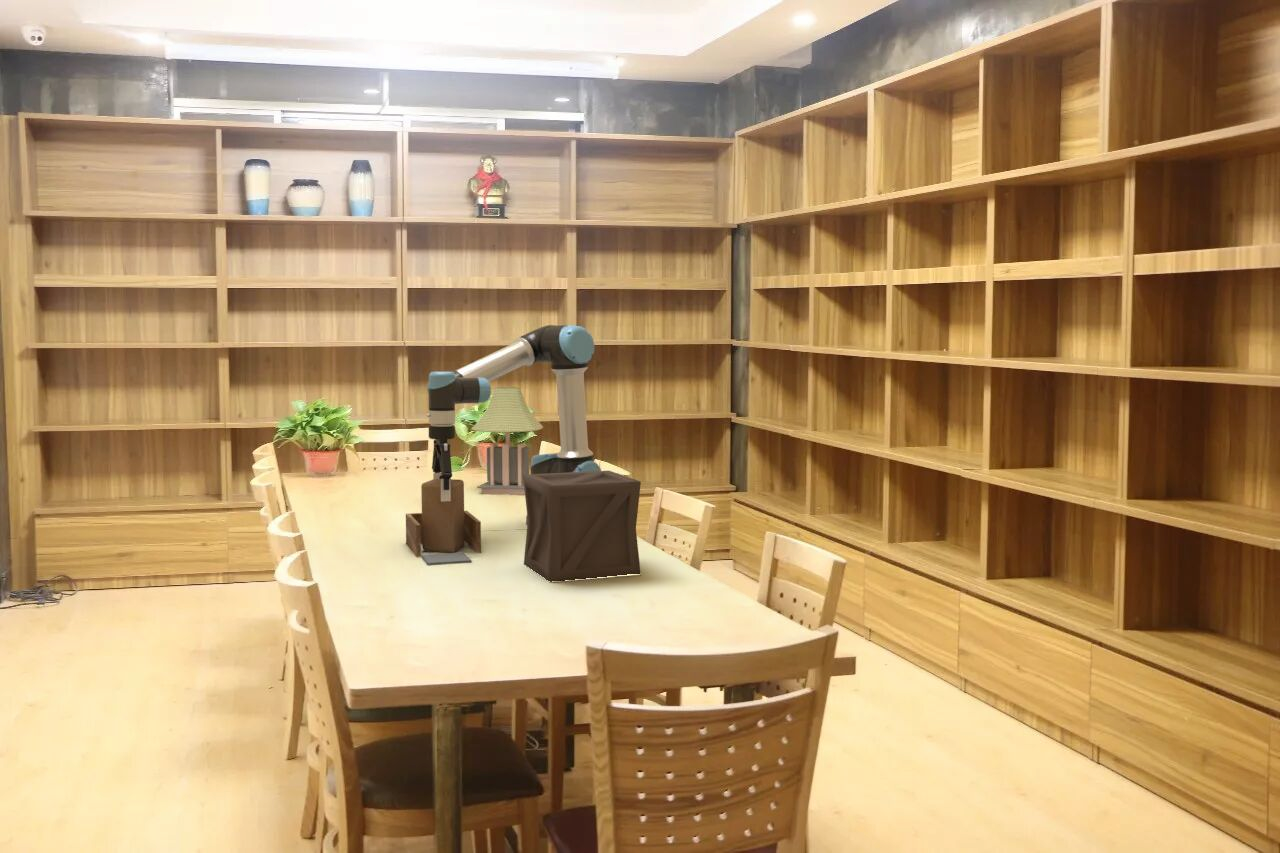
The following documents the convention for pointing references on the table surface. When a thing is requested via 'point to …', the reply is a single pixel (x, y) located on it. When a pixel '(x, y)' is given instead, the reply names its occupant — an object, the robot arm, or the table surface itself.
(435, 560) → the pad
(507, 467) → the desk lamp
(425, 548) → the block
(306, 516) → the table surface
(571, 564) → the wooden crate
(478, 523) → the cubby
